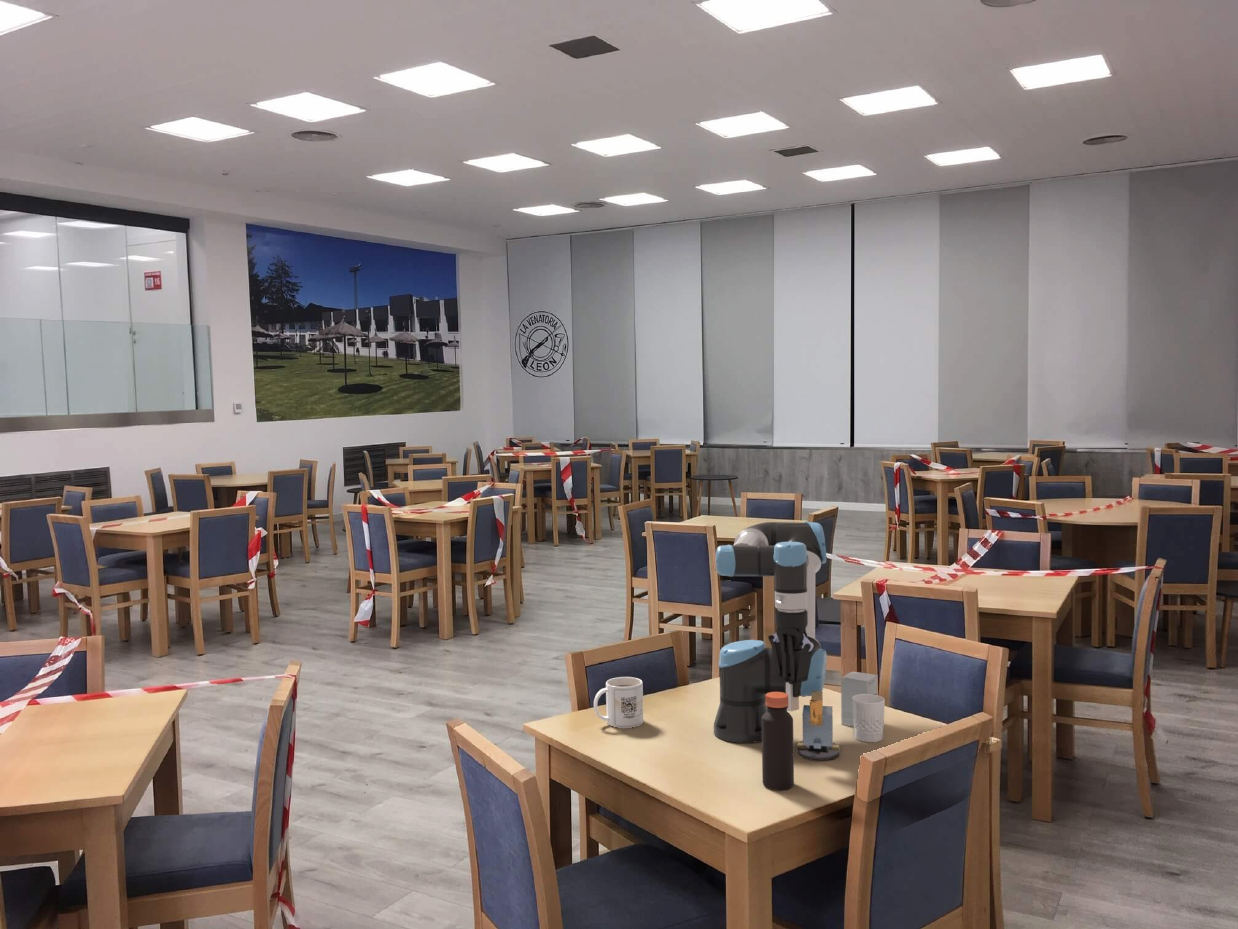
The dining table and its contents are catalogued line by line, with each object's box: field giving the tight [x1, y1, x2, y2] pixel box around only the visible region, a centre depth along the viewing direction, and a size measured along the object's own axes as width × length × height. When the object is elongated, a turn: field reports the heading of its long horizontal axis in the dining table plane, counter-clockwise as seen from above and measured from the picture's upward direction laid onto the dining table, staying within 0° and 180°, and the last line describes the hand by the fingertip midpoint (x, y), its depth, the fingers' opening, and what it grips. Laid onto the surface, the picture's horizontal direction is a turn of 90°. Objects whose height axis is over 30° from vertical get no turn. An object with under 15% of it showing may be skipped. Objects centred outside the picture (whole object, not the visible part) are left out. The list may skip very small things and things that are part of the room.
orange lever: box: [802, 691, 834, 749], centre depth 218 cm, size 7×17×13 cm, turn 166°
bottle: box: [761, 692, 795, 791], centre depth 203 cm, size 7×7×20 cm
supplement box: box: [840, 671, 879, 727], centre depth 242 cm, size 7×7×13 cm
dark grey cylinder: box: [796, 741, 841, 762], centre depth 222 cm, size 10×10×9 cm
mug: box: [593, 676, 644, 729], centre depth 247 cm, size 10×12×11 cm
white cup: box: [852, 694, 886, 743], centre depth 231 cm, size 8×8×10 cm
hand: (792, 709), depth 216 cm, fingers closed
